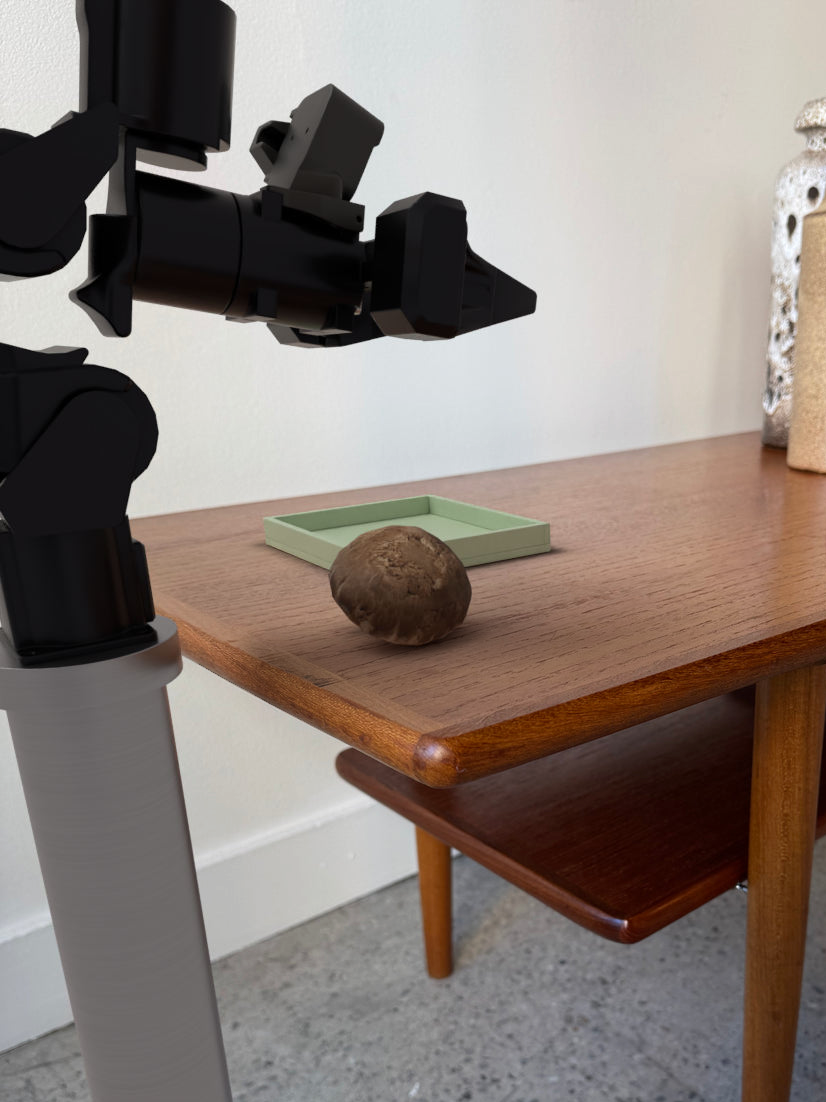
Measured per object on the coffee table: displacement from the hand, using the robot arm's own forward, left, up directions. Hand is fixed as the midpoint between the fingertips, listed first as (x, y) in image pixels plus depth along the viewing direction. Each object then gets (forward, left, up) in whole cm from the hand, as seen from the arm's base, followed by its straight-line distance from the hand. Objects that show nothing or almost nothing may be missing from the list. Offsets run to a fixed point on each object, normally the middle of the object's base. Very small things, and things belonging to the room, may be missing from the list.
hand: (490, 307), depth 60 cm
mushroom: (-9, -4, -17) cm, 20 cm away
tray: (+2, +16, -17) cm, 23 cm away
